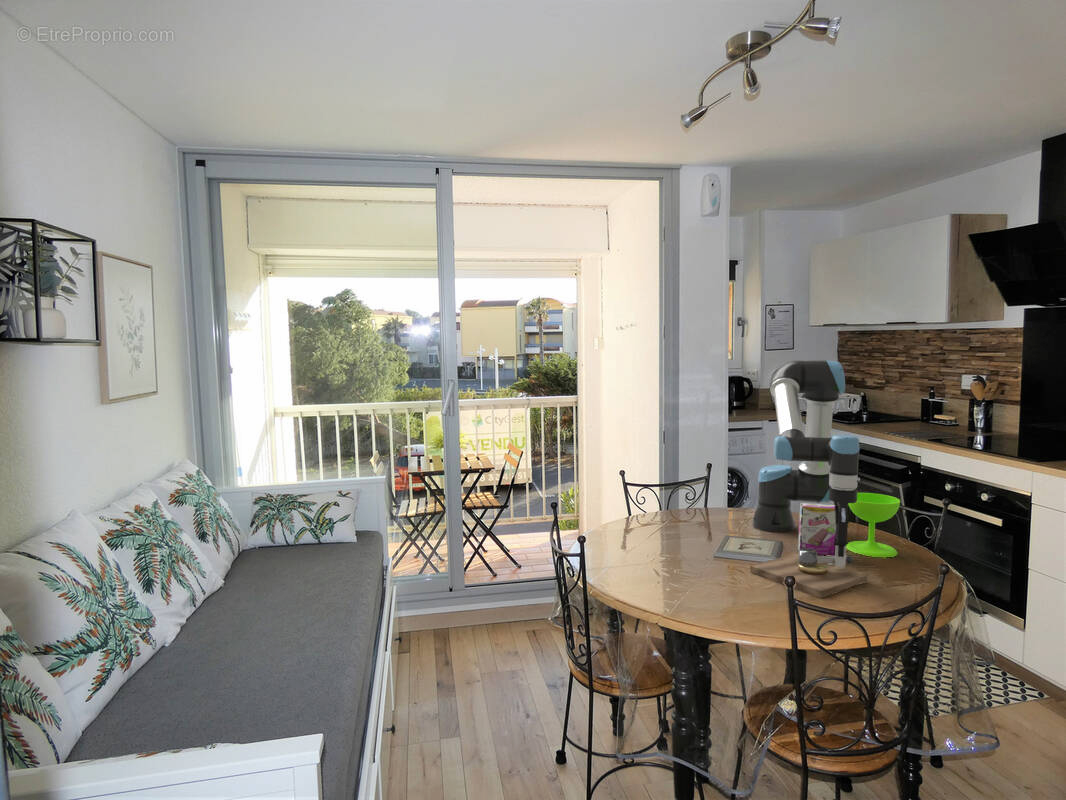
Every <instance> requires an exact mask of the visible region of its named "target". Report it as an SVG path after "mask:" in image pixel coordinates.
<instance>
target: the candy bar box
mask: <svg viewBox="0 0 1066 800" xmlns="http://www.w3.org/2000/svg"><path fill="white" fill-rule="evenodd" d="M835 506H836V505H835V504H825V503H821V504H820V503H812V502H800V503H799V522H798V523H799V525H798V542H797V543H798V544H797V547H798V548H797V549H798V551H799V549H803V548H807V549H813V550H816V551H817V556H824V555H831V556H835V549H836V545H834V542H835V543H836V538H835V536H836V520H835Z"/></svg>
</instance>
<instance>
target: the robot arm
mask: <svg viewBox="0 0 1066 800" xmlns="http://www.w3.org/2000/svg"><path fill="white" fill-rule="evenodd" d="M845 377H846V376H845V371H844V368H843V365H842V364H841V363H840V361H837V360H836V361H835V360H827V359H826V360H824V359H823V360H792V361H789V362H786V363H784V364H782V365H781V366H780V367H778V369H776V371H775V372H774V373H773V375H772V377H771V379H770V383H769V390H770V394H771V396H772V397H773V398H774V399H773V400H774V405H775V412H776V413H775V414H776V422H777V430H778V435H777V436H775V437H774V440H773V456H774V458H775V460H778V461H779V460H780V461H787V462H790V461H791V462H800V463H799V464H798V467H797V468H798V469H793V468H792V466H791V465H788V464H787V465H786V464H785V465H784V464H774V465H767V466H764V467H761V469H759V472H758V478H757V479H758V480H757V481H758V495H757V498H758V499H757V506H756V509H755V512H754V515H753V518H752V527H754V528H756V529H758V530H762V531H767V532H772V533H773V532H776V533H777V532H778V533H785V532H791V531H794V530H795V529H796V523H795V522H796V521H795V520H794V516H793V513H792V509H791V508H792V507H791V505H792V504H791V502H803V503H816V504H820V503H829V502H834V503H837V505H835V520H836V536H835V538H836V543H835V542H834V545H836V549H835V563H834V564H835V566H836V567H841V568H846V563H845V560H846V555H847V554H846V553H847V550H846V545H847V544H848V543H849V541H848V529H849V527H848V525H849V522H850V516H851V509H850V507H849V505H848V503H855V502H856V501H857V493H858V490H857V488H858V482H859V481H860V480H861V478H860V477H858V475H859V457H860V450H861V447H860V439H859V437H858V436H855V435H851V434H835V435H834V434H833V436H832V423H833V413H834V412H833V411H834V403H837V402H838V400H839V399H840V396H839V395H842V394H843V395H844V394H845V391H846V379H845ZM799 394H803V395H802V396H803V399H804V400H805V401H806V402H807V404H806V407H807V408H806V420H805V430H804V425H803V419H802V413H801V405H800V402H799V396H798V395H799Z"/></svg>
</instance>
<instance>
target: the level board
mask: <svg viewBox="0 0 1066 800" xmlns="http://www.w3.org/2000/svg"><path fill="white" fill-rule="evenodd" d="M798 562H799V553H797V552H796V553H792V554H788V555H783V556H781V557H777V558H774V559H771V560H766V561H762V562H759V563H755V564H752V565H750V567H749V568H750V569H749V571H750V573H752V574H754V575H757V576H760V577H763V578H764V579H768V580H771V581H773V582H776V583H779V584H782V585H784V584H783V582H784V578H785V577H786V576H794V577H795V578H796V586H795V588H794V589H795V590H797V591H798V590H799V591H800V590H801V591H800V592H803V591H804V592H803V593H806V594H808V593H809V595H811V594H812V595H811V596H814V595H815V597H817V598H819V597H820V598H819V599H822V598H825V597H828V596H830V594H831V595H833V594H832V593H834V594H836V593H835V592H837V593H839V592H838V591H840V592H842V591H841V590H843V589H846V588H849V587H852V586H854V587H856V586H855V585H857V586H859V585H858V584H860V583H863V584H865V583H864V582H866V583H867V582H868V575H866V574H863V573H860V572H856V571H853V570H850V569H847V568H846V567H836V566H835V563H824V564H826V565H827V572H826V573H824V574H811V573H807V572H803V571H801V570H799V568H798ZM860 585H861V584H860ZM852 588H853V587H852ZM849 589H850V588H849ZM846 590H847V589H846ZM843 591H844V590H843ZM827 595H828V596H827ZM824 596H825V597H824ZM821 597H822V598H821Z"/></svg>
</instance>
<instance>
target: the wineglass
mask: <svg viewBox="0 0 1066 800" xmlns="http://www.w3.org/2000/svg"><path fill="white" fill-rule="evenodd" d="M900 505H901V499H899V498H898V497H895V496H891V495H888V494H887V495H886V494H881V493H873V492H857V501H856V502H855V503H848V504H847V506H848V507H849V509H850V511H851V512H852V513H853V514H854V515H855V516H856V517H858V518H859V519H861V520H863V521H865V522H868V536H867V537H868V538H867V540H853V541H850V542H849V541H848V544H847V545H846V548H847V549H848V550H850V551H852V552H854V553H858V554H862V555H866V556H872V557H884V558H883V559H887V558H886V557H893V558H895V557H894V556H896V555H897V554H898V553H899V552H898V551H897V550H896V549H895V547H893V546H891V545H888V544H884V543H881V542H876V539H875V537H876V530H875V529H876V523H881V522H886V521H887V520H889V519H892V518H893V517H894V516H895V515H896V514H897V512H898V511H899V508H900ZM898 555H899V554H898ZM898 555H897V556H898ZM897 556H896V557H897Z"/></svg>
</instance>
